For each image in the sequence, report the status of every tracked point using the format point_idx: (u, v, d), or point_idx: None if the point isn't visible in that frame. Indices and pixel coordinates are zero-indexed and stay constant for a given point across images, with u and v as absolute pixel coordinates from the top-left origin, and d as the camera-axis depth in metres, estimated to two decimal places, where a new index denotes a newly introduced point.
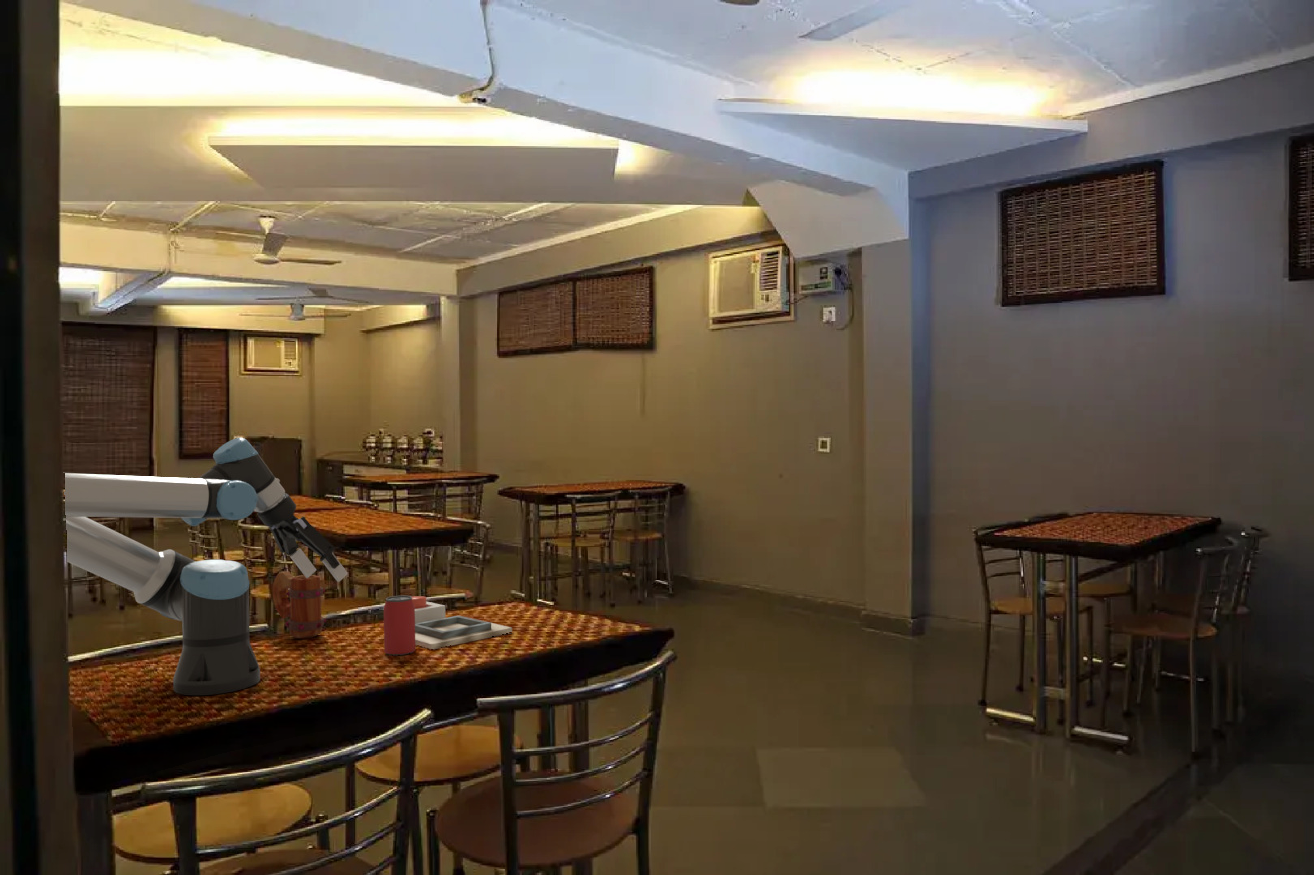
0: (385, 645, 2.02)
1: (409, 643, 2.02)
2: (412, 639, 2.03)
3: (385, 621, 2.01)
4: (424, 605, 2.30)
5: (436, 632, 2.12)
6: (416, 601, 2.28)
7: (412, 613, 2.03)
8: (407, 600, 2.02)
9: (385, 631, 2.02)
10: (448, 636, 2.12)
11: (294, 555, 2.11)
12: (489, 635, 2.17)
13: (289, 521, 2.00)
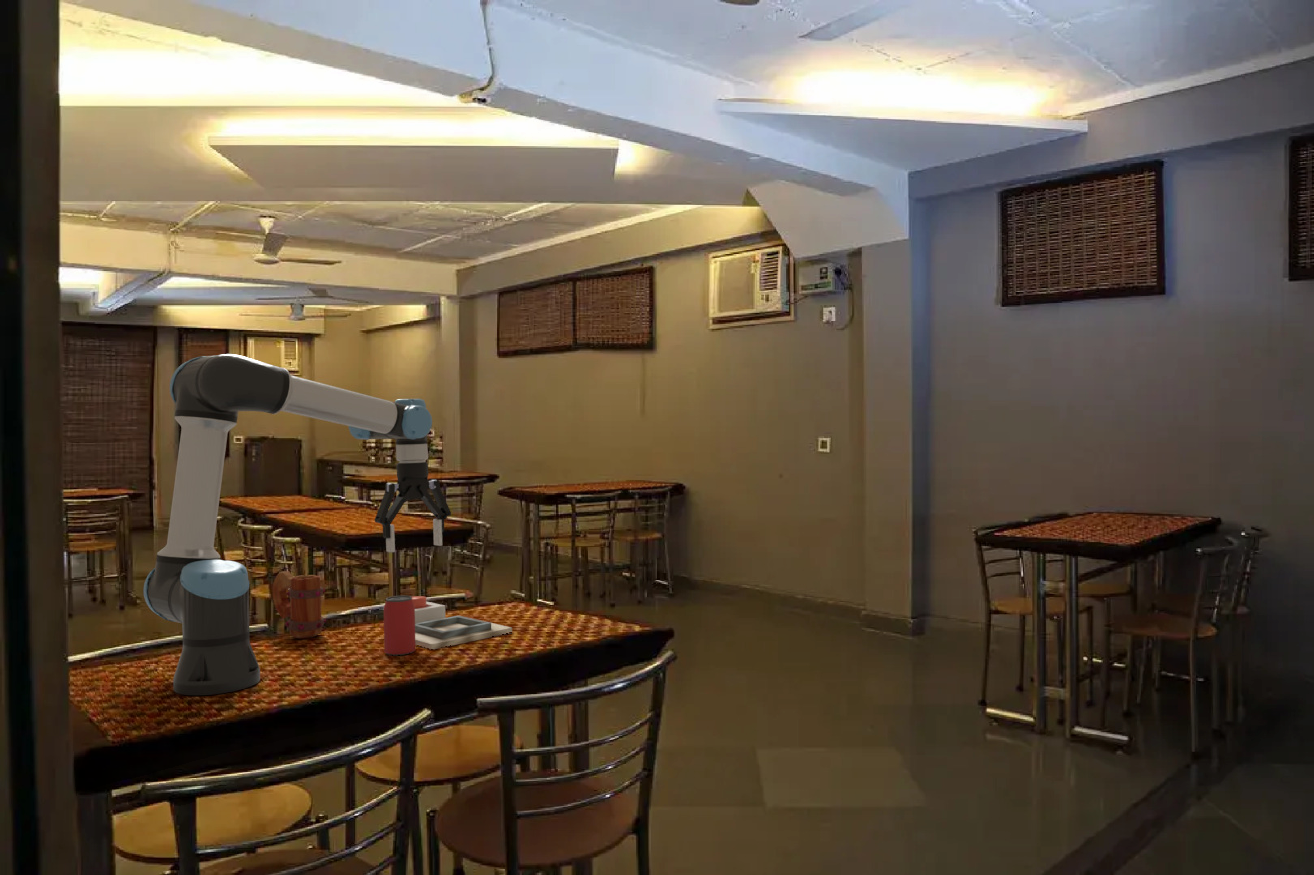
0: (385, 645, 2.02)
1: (409, 643, 2.02)
2: (412, 639, 2.03)
3: (385, 621, 2.01)
4: (424, 605, 2.30)
5: (436, 632, 2.12)
6: (416, 601, 2.28)
7: (412, 613, 2.03)
8: (407, 600, 2.02)
9: (385, 631, 2.02)
10: (448, 636, 2.12)
11: None
12: (489, 635, 2.17)
13: (427, 479, 2.32)
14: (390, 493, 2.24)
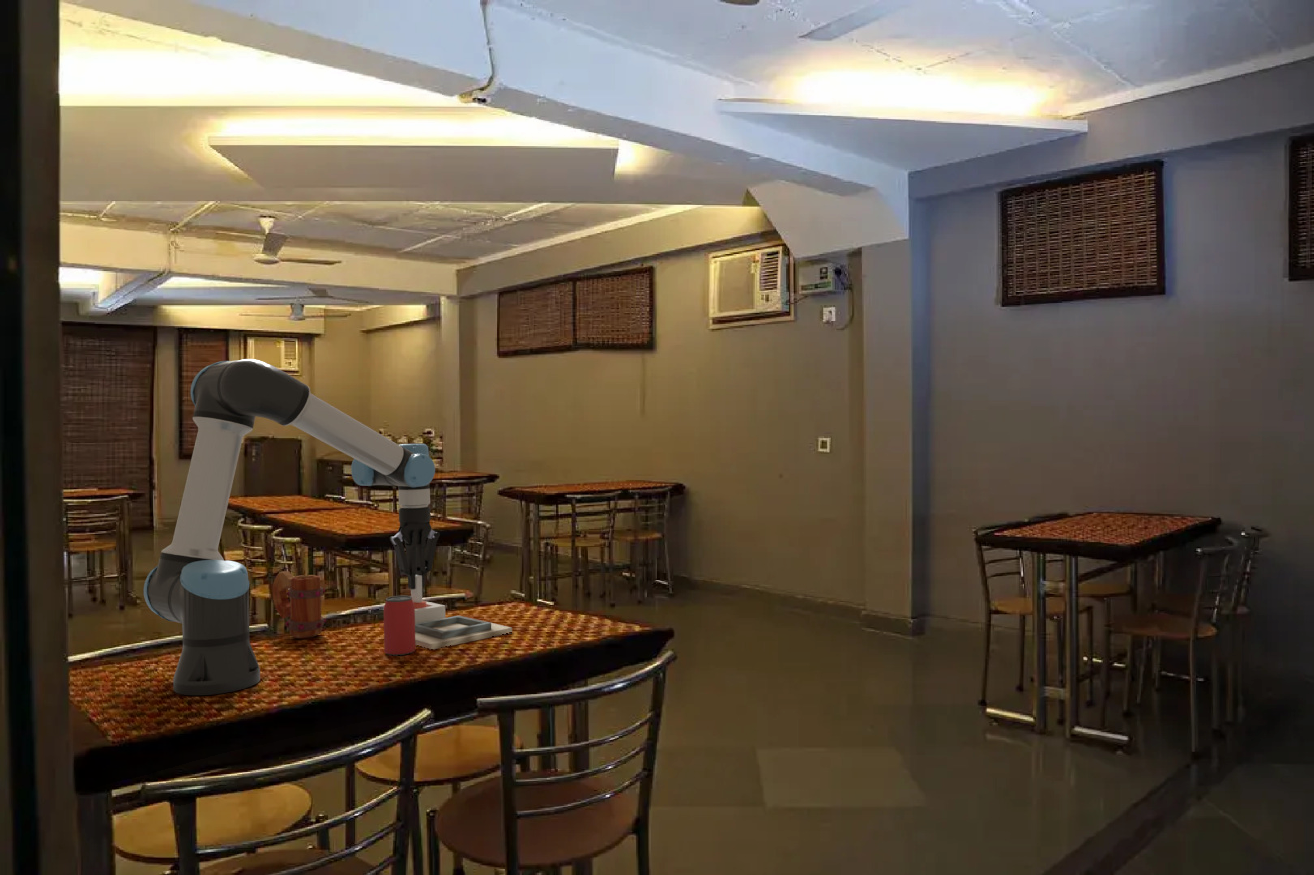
0: (385, 645, 2.02)
1: (409, 643, 2.02)
2: (412, 639, 2.03)
3: (385, 621, 2.01)
4: None
5: (436, 632, 2.12)
6: (416, 606, 2.28)
7: (412, 613, 2.03)
8: (407, 600, 2.02)
9: (385, 631, 2.02)
10: (448, 636, 2.12)
11: None
12: (489, 635, 2.17)
13: None
14: (399, 546, 2.26)
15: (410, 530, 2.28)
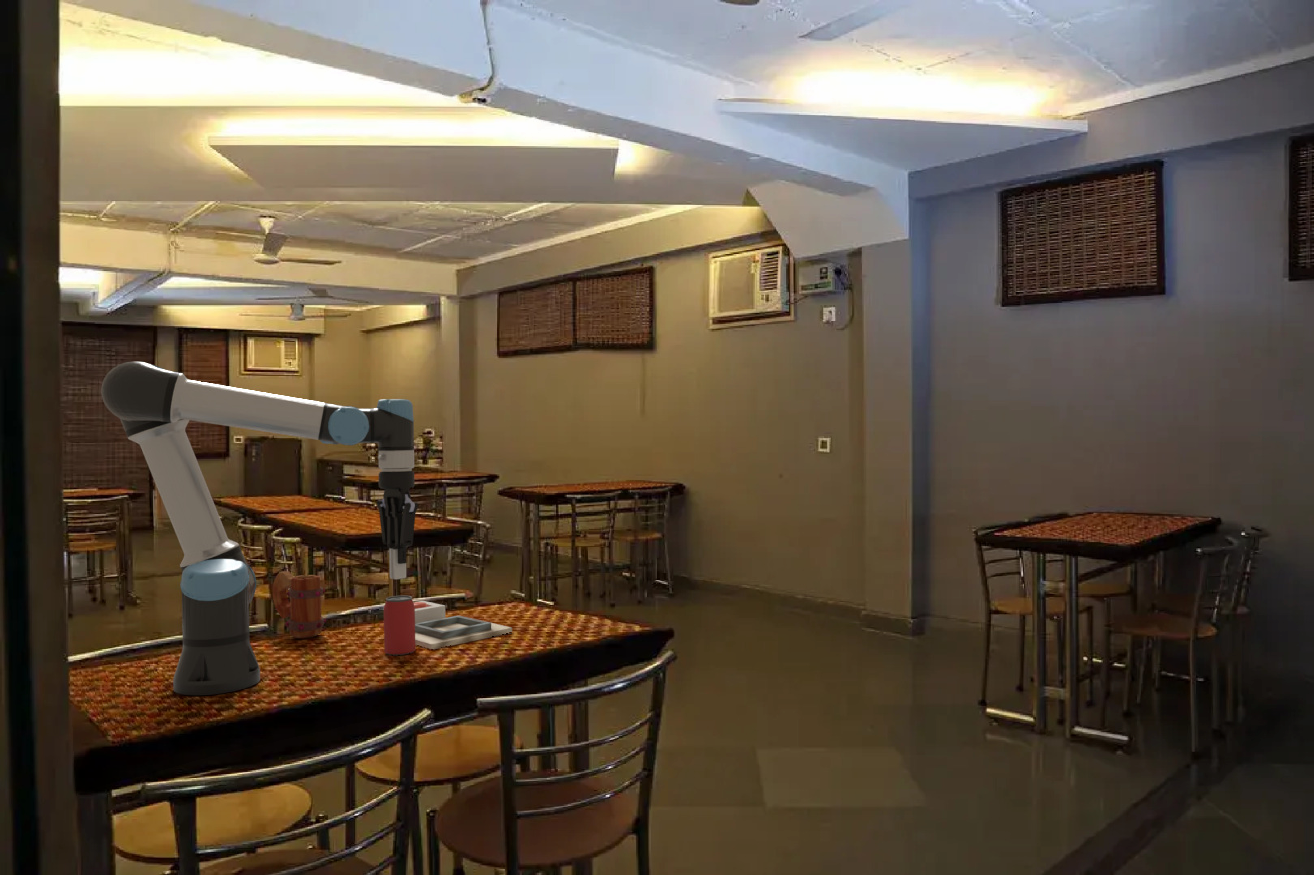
0: (385, 645, 2.02)
1: (409, 643, 2.02)
2: (412, 639, 2.03)
3: (385, 621, 2.01)
4: None
5: (436, 632, 2.12)
6: (416, 607, 2.28)
7: (412, 613, 2.03)
8: (407, 600, 2.02)
9: (385, 631, 2.02)
10: (448, 636, 2.12)
11: None
12: (489, 635, 2.17)
13: None
14: None
15: None
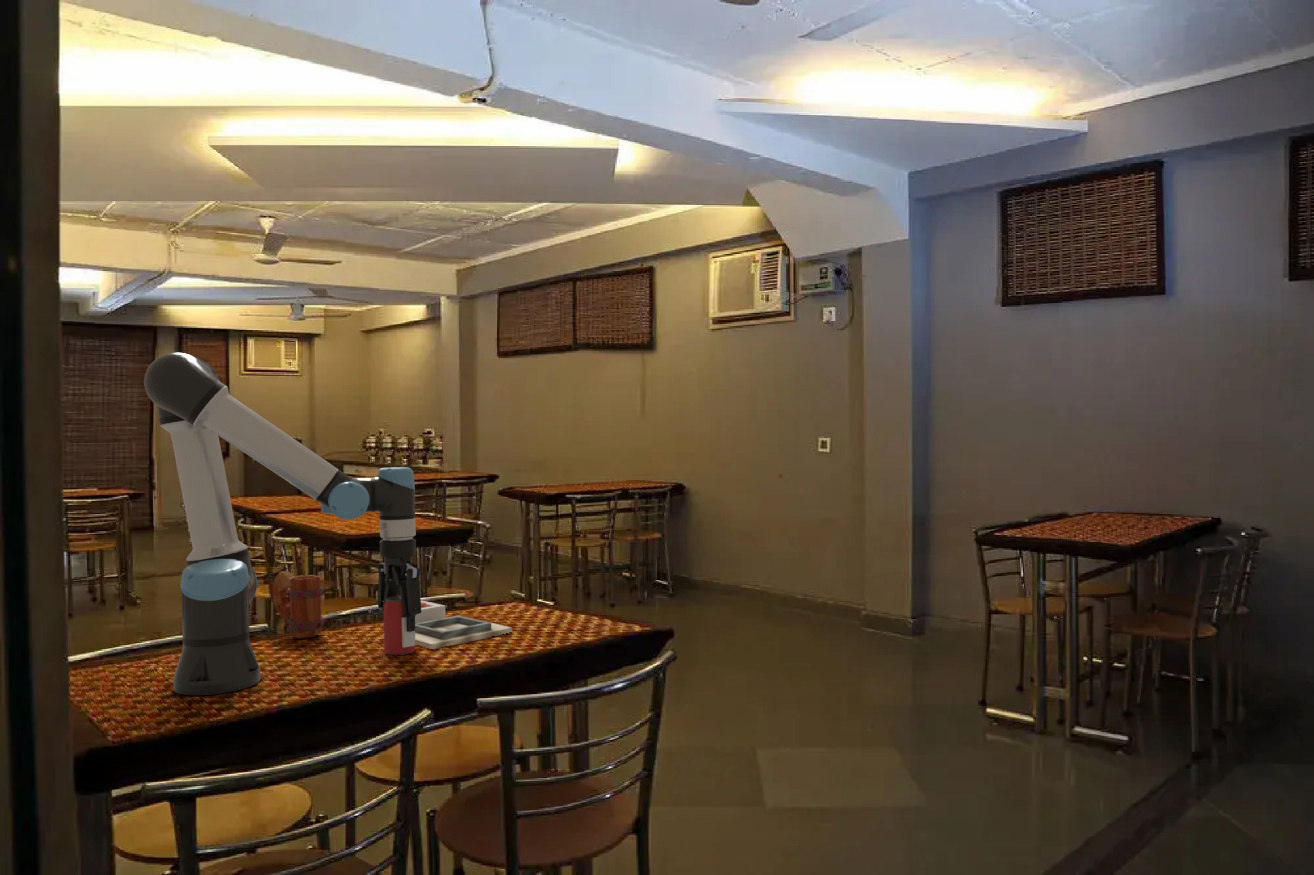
0: (385, 645, 2.02)
1: None
2: None
3: (385, 621, 2.01)
4: None
5: (436, 632, 2.12)
6: None
7: None
8: None
9: (385, 631, 2.02)
10: (448, 636, 2.12)
11: None
12: (489, 635, 2.17)
13: None
14: None
15: None
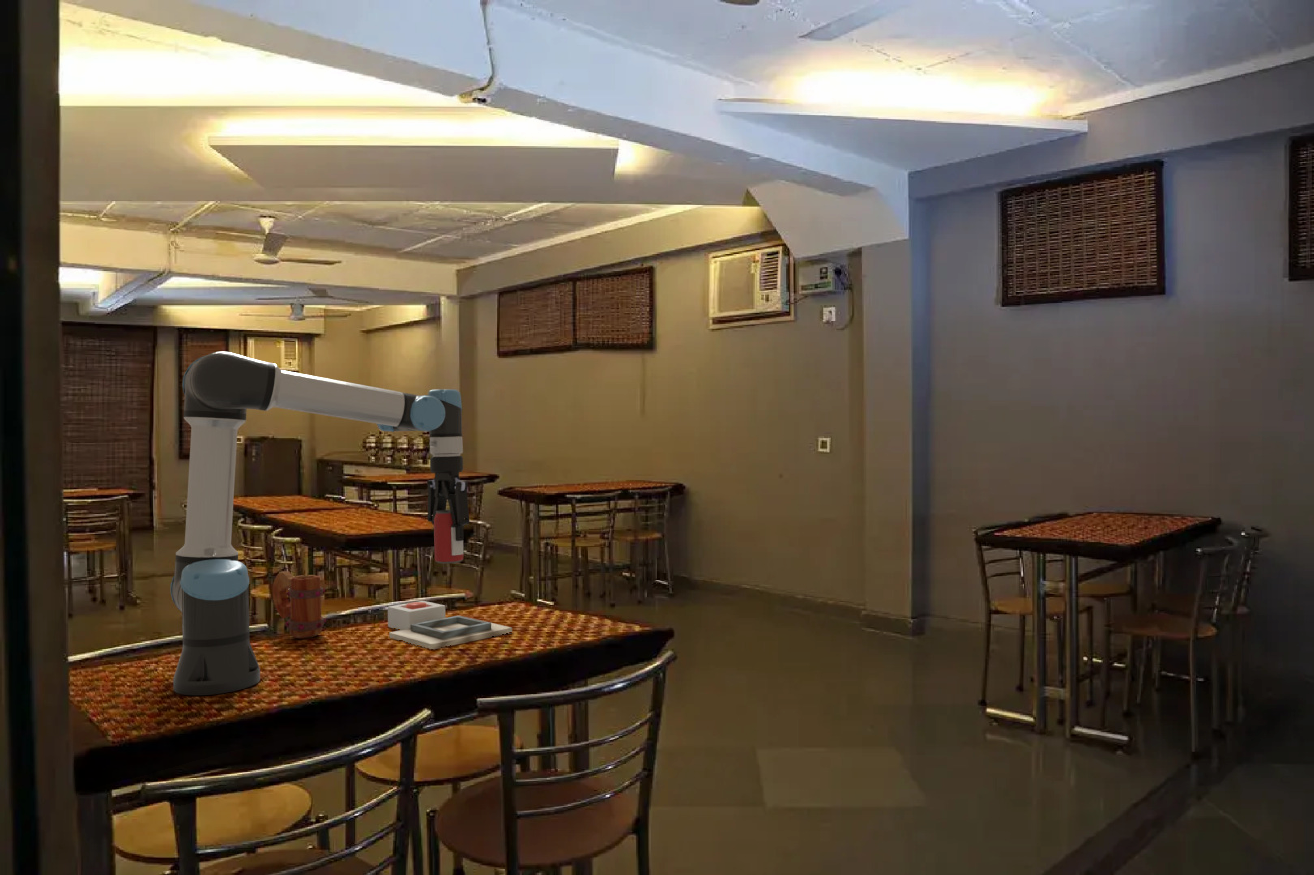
0: (436, 554, 2.17)
1: None
2: None
3: (435, 531, 2.17)
4: None
5: (436, 632, 2.12)
6: (416, 607, 2.28)
7: None
8: None
9: (435, 541, 2.17)
10: (448, 636, 2.12)
11: None
12: (489, 635, 2.17)
13: None
14: None
15: None
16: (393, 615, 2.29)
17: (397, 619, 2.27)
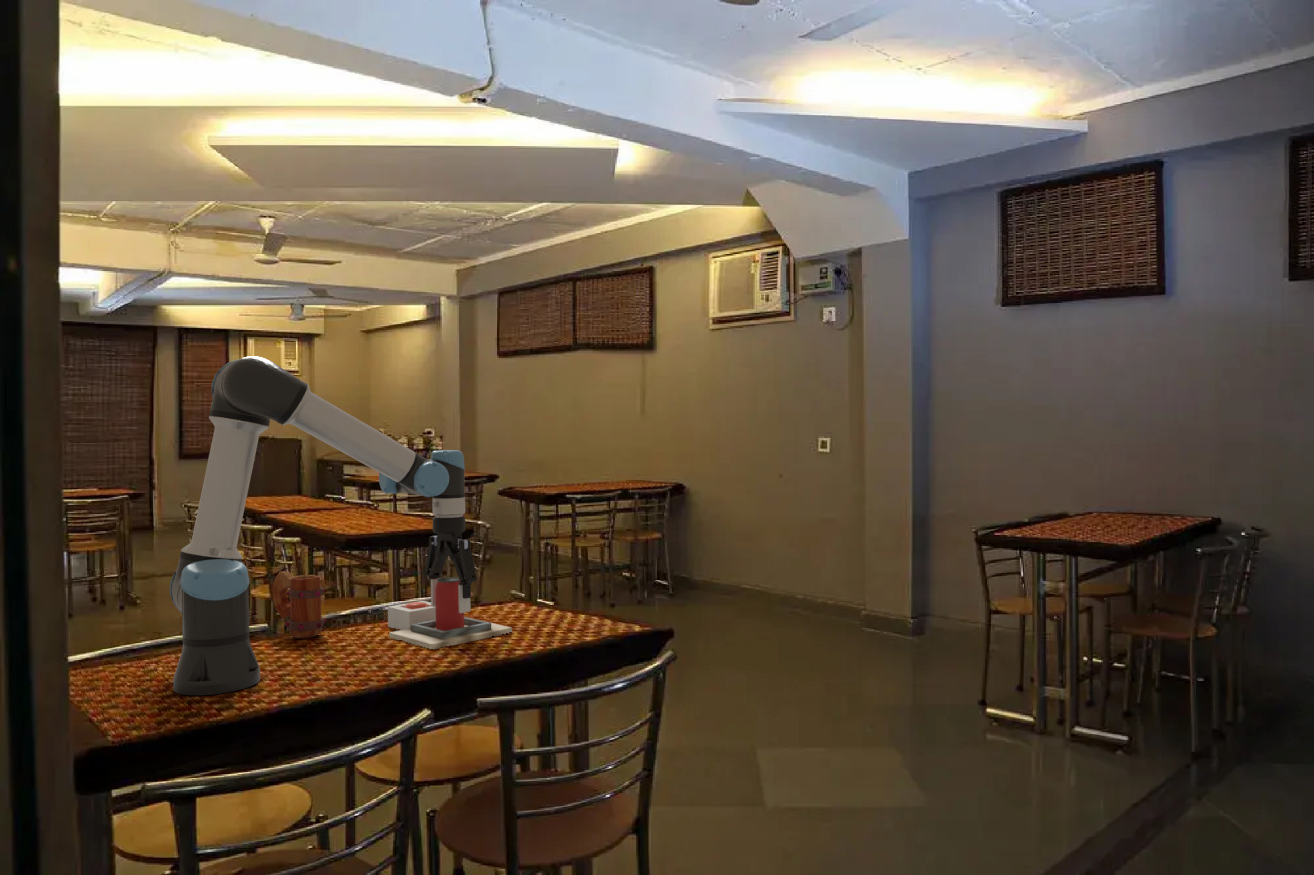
0: (437, 622, 2.18)
1: (459, 621, 2.18)
2: (461, 617, 2.19)
3: (437, 600, 2.18)
4: None
5: (436, 632, 2.12)
6: (416, 607, 2.28)
7: None
8: (457, 581, 2.19)
9: (437, 609, 2.18)
10: (448, 636, 2.12)
11: None
12: (489, 635, 2.17)
13: None
14: None
15: None
16: (393, 615, 2.29)
17: (397, 619, 2.27)
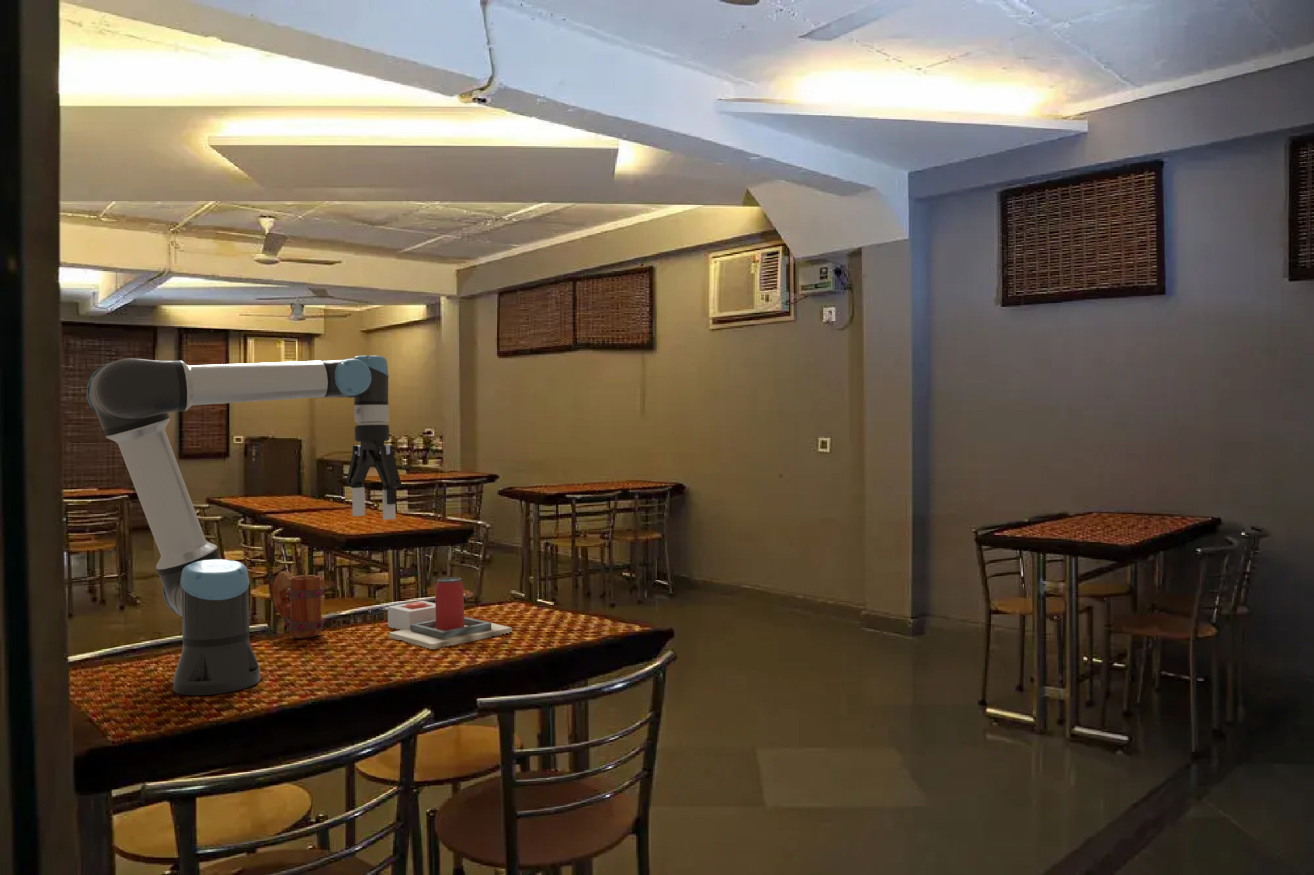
0: (437, 623, 2.18)
1: (459, 621, 2.18)
2: (461, 617, 2.19)
3: (437, 600, 2.18)
4: None
5: (436, 632, 2.12)
6: (416, 607, 2.28)
7: (461, 593, 2.19)
8: (457, 581, 2.19)
9: (437, 610, 2.18)
10: (448, 636, 2.12)
11: None
12: (489, 635, 2.17)
13: None
14: None
15: None
16: (393, 615, 2.29)
17: (397, 619, 2.27)
